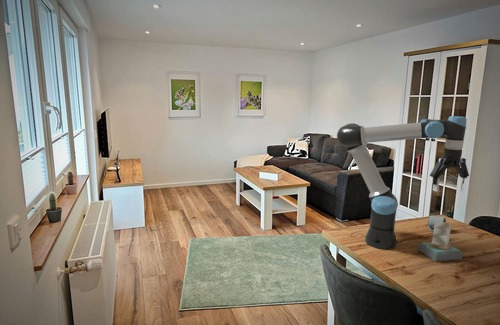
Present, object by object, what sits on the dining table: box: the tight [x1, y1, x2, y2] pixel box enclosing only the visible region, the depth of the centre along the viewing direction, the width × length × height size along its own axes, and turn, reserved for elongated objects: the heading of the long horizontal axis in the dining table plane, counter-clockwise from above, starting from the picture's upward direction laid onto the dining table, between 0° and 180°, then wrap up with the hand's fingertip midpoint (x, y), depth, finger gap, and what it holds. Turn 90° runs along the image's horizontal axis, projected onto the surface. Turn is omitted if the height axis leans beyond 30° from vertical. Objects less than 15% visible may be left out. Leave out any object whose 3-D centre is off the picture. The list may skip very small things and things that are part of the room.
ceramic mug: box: [427, 215, 447, 233], centre depth 187 cm, size 11×8×8 cm
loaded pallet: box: [429, 221, 452, 252], centre depth 156 cm, size 8×8×11 cm
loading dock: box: [417, 241, 464, 262], centre depth 157 cm, size 14×12×4 cm
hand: (447, 190), depth 164 cm, fingers open, 13 cm apart
